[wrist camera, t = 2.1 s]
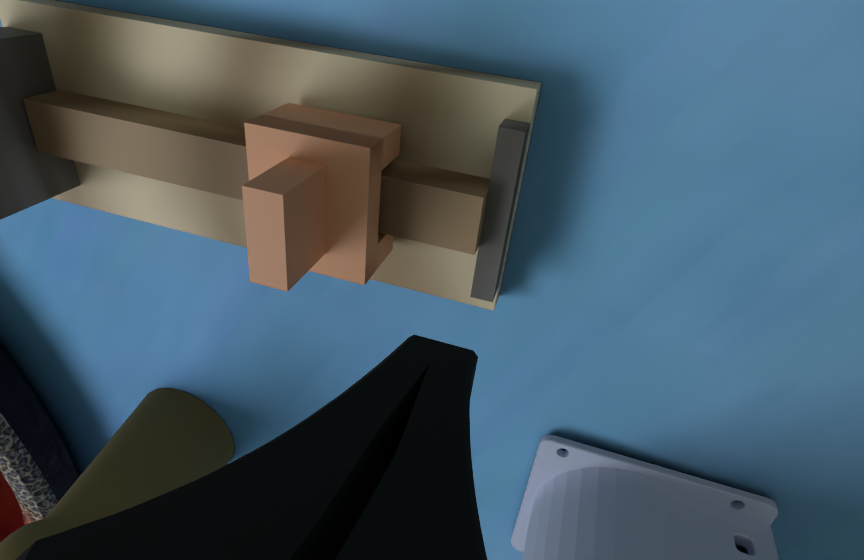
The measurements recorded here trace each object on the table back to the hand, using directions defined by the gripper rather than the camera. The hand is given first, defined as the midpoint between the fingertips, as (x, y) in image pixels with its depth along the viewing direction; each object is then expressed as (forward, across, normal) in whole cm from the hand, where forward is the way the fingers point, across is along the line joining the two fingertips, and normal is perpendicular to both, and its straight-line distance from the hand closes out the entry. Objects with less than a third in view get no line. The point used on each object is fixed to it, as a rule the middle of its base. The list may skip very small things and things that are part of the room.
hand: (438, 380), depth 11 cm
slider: (+8, +6, 0) cm, 10 cm away
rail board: (+10, +10, 0) cm, 14 cm away
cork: (+10, +16, +18) cm, 26 cm away
